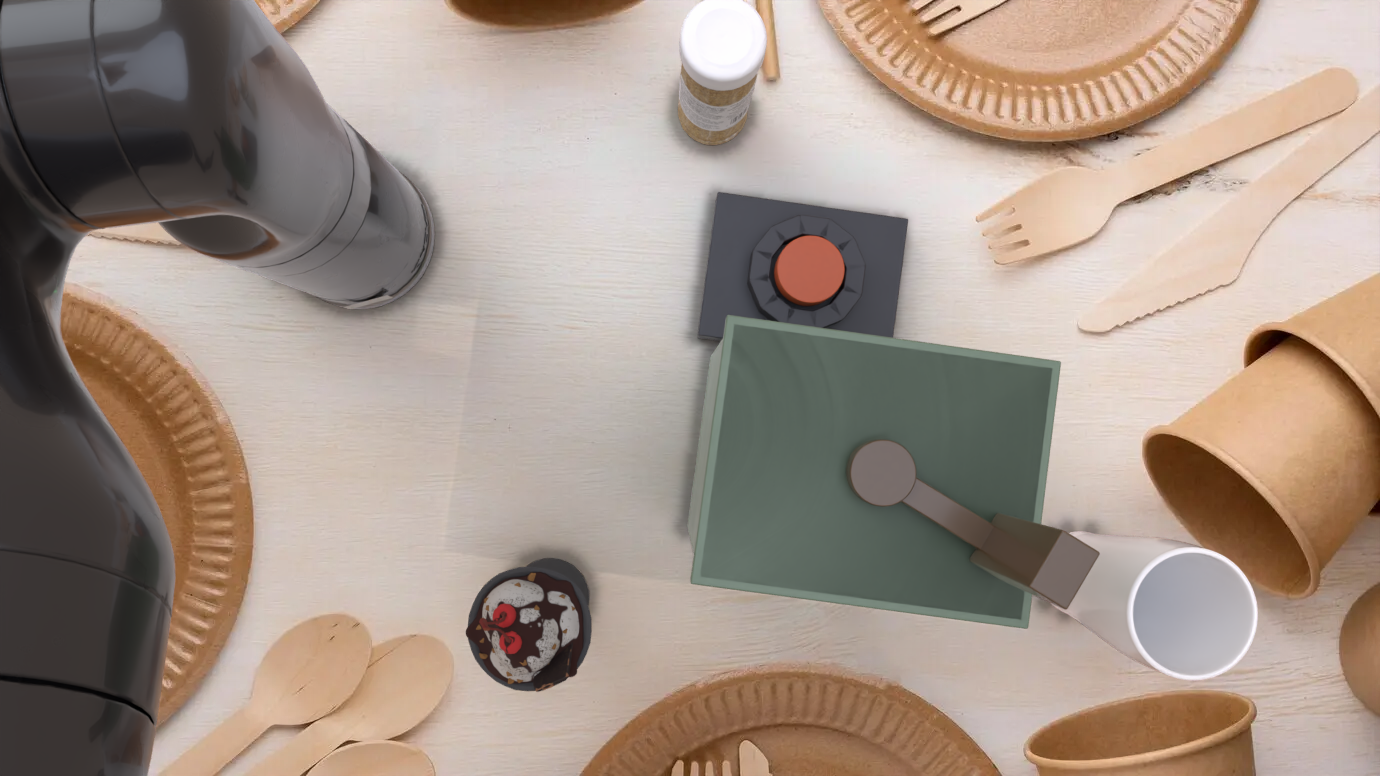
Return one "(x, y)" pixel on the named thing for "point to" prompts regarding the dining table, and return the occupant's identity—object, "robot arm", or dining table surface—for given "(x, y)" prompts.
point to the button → (809, 270)
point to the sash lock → (976, 526)
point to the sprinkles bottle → (719, 68)
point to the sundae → (531, 625)
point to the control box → (756, 239)
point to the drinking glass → (1167, 604)
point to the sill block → (815, 451)
